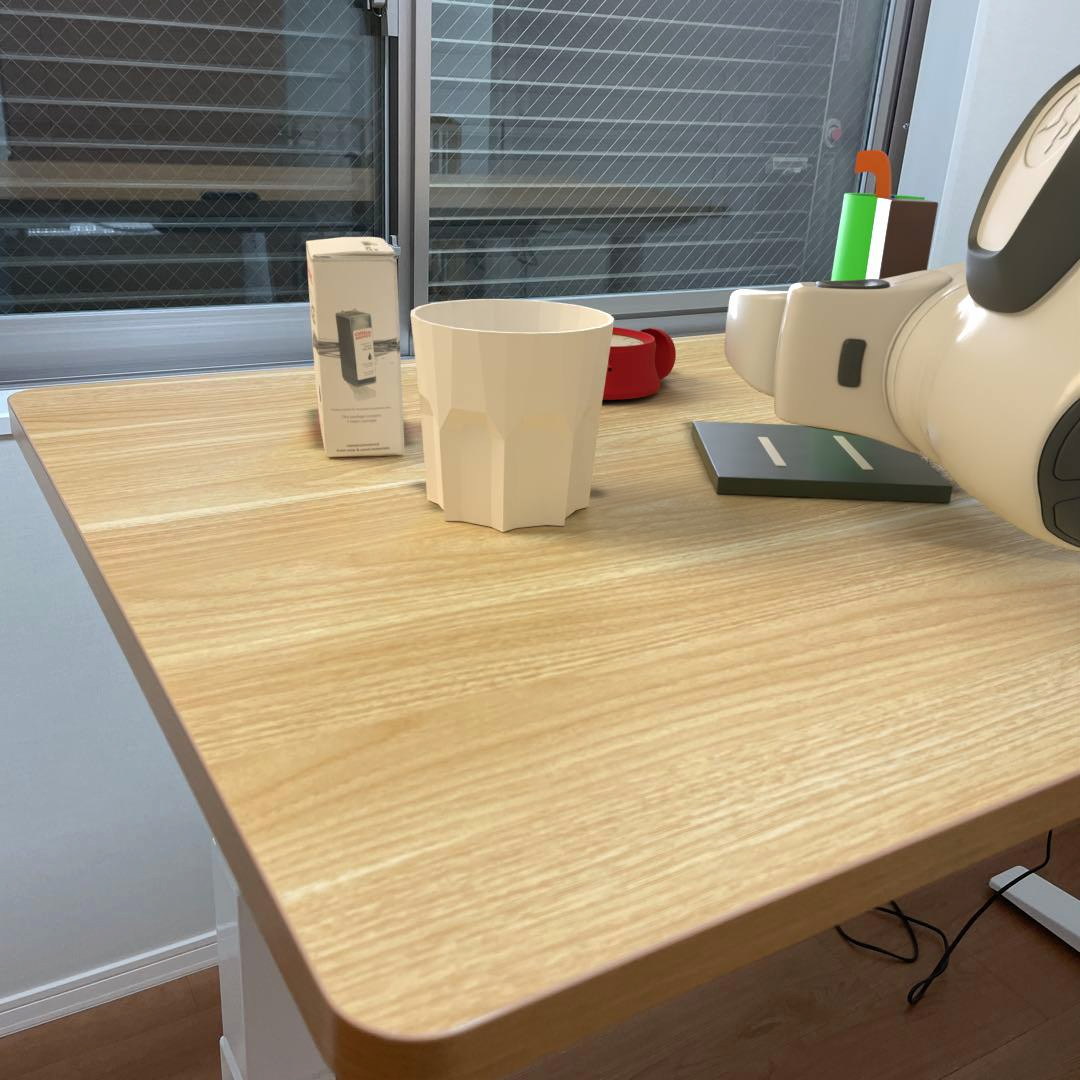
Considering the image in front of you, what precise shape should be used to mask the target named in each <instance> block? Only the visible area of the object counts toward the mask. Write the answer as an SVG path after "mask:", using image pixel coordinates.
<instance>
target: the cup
mask: <svg viewBox="0 0 1080 1080" xmlns="http://www.w3.org/2000/svg"><path fill="white" fill-rule="evenodd" d="M410 324H411V332H412V342H413V351H414V352H413V353H414V360H415V361H414V362H415V369H416V378H417V388H418V398H419V410H420V423H421V424H420V426H421V436H422V437H421V439H422V451H423V462H424V472H425V473H424V474H425V475H424V476H425V489H426V499H427V501H429V502H432V503H434V504H436V505H438V506H439V507H440V508H441V509H442V510H443V520H444V522H465V523H470V524H474V525H480V526H485V527H490V528H493V529H494V530H497V531H499V532H502V533H504V532H507V531H510V530H511V531H512V530H514V529H518V528H529V527H539V526H557V527H559V526H560V527H565V524H566V523H565V522H566V519H567V518H568V517H569V516H570V515H572V514H573V513H574V512H575V511H578V510H582V509H586V508H589V505H590V499H591V498H590V497H591V489H592V482H593V475H594V467H595V459H596V451H597V443H598V435H599V428H600V419H601V413H602V406H603V393H604V386H605V379H606V372H607V365H608V359H609V352H610V345H611V338H612V331H613V327H614V324H615V318H614V316H612V314H610V313H607V312H605V311H603V310H600V309H598V308H597V309H596V308H593V307H588V306H585V305H578V304H571V303H565V302H555V301H545V300H535V299H534V300H532V299H529V300H528V299H514V298H478V299H477V298H476V299H469V298H468V299H458V300H457V299H456V300H445V301H438V302H431V303H427V304H422V305H419V306H416V307H415V308H413V309H411V310H410Z"/></svg>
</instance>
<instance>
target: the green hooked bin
mask: <svg viewBox="0 0 1080 1080" xmlns="http://www.w3.org/2000/svg"><path fill="white" fill-rule="evenodd" d="M853 173H854V174H858V173H872V174H873V175H874V176H875V180H876V181H875V182H876V183H875V193H871V192H870V193H869V192H866V193H865V192H845V193H844V194H843V200H842V207H841V213H840V220H839V227H838V233H837V240H836V245H835V252H834V258H833V265H832V270H831V271H832V272H831V278H830V281H846V280H864V279H866V274H867V267H868V260H869V254H870V247H871V241H872V234H873V227H874V221H875V214H876V208H877V201H878V198H896V199H920V200H926V197H924V196H915V195H914V196H913V195H901V194H900V195H898V194H892V166H891V162H890V158H889V156H888V154H887V153H886V152H884V151H883V150H880V149H866V150H857V153H856V160H855V166H854V171H853Z"/></svg>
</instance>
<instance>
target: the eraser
mask: <svg viewBox="0 0 1080 1080" xmlns="http://www.w3.org/2000/svg"><path fill="white" fill-rule="evenodd" d="M938 207H939V202H937V201H932V200H927V199H924V200H920V199H896V198H878V201H877V208H876V214H875V221H874V227H873V234H872V241H871V247H870V254H869V260H868V267H867V274H866V279H884V278H889V277H894V276H899V275H904V274H908V273H912V272H917V271H923V270H928V266H929V259H930V255H931V249H932V242H933V237H934V232H935V225H936V219H937V213H938V209H939V208H938Z"/></svg>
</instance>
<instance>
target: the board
mask: <svg viewBox="0 0 1080 1080" xmlns="http://www.w3.org/2000/svg"><path fill="white" fill-rule="evenodd" d="M691 423H692V424H691V433H690V435H691V437H692V439H693V442H694V444H695V446H696V448H697V449H696V450H697V451H698V453H699V455H700V458H701V461H702V463H703V465H704V467H705V470H706V471H707V474H708V476H709V479H710V481H711V483H712V485H713V487H714V490H715V493H716V494H717V495H720V494H721V495H742V496H743V495H744V496H745V495H746V496H768V497H770V496H771V497H794V498H817V499H818V498H819V499H820V498H821V499H840V500H841V499H844V500H866V501H867V500H868V501H891V502H892V501H893V502H912V503H913V502H917V503H939V504H942V503H943V504H950V502H951V499H952V493H953V488H954V487H953V485H952V484H951V483H950V482H948V481H947V480H946V479H945V478H944V477H943V476H942V475H941V474H940V473H938V472H937V471H936V470H935V469H934V468H933V467H932V466H931V465H929V464H928V463H927V462H926V461H925V460H924V459H923V458H922V457H920V456H919V454H918V453H912V452H909V451H906V450H903V449H900V448H898V447H895V446H892V445H890V444H887V443H884V442H881V441H878V440H875V439H872V438H868V437H865V436H858V435H852V434H847V433H842V432H836V431H831V430H824V429H818V428H811V427H807V426H804V425H797V424H778V423H777V424H776V423H752V422H726V421H725V422H724V421H707V420H706V421H705V420H703V421H701V420H693V421H692V422H691Z"/></svg>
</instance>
